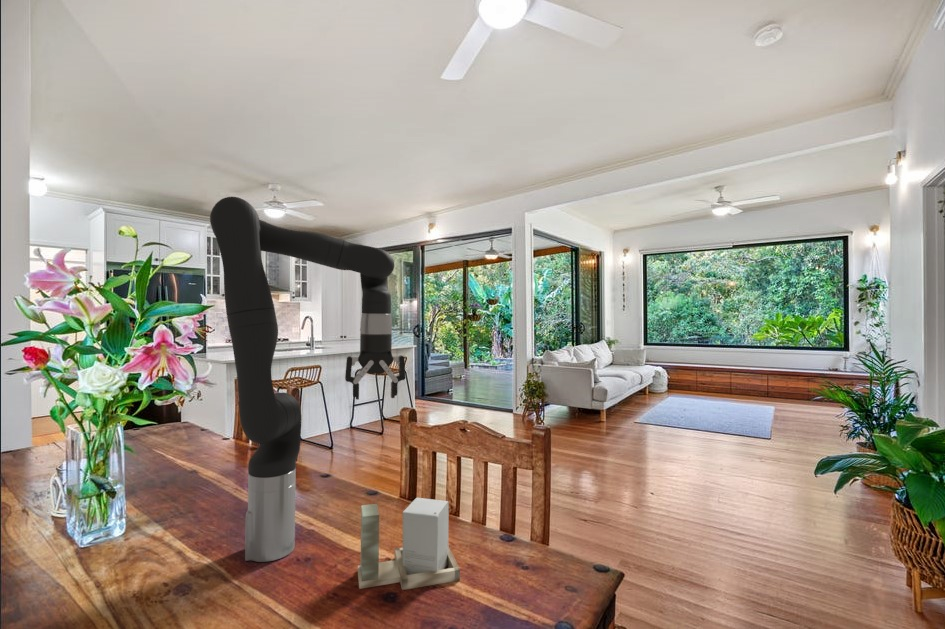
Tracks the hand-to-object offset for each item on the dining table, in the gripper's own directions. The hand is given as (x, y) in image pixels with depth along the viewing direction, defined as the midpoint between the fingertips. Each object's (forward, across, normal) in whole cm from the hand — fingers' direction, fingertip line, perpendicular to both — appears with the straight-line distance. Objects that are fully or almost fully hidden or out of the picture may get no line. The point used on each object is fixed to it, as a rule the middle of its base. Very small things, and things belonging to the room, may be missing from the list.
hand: (375, 398), depth 109 cm
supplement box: (+30, +8, -24) cm, 39 cm away
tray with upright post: (+30, +4, -24) cm, 39 cm away
